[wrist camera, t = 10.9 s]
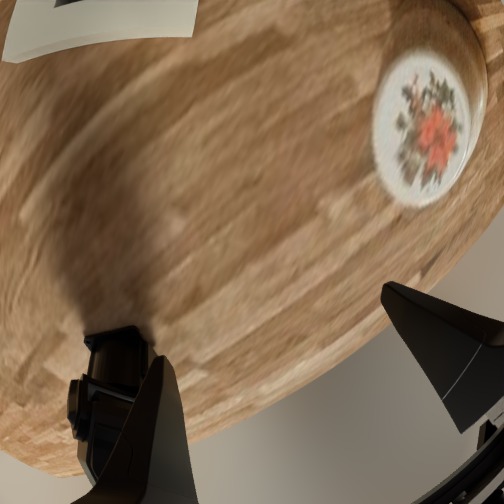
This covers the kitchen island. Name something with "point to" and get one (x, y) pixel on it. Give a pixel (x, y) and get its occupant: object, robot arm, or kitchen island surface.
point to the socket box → (92, 24)
